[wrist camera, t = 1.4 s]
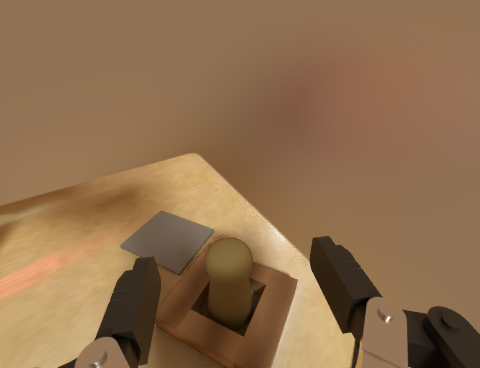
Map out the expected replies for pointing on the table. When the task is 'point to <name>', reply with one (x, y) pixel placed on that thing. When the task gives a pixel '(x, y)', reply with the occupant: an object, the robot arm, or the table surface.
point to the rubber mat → (168, 241)
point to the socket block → (219, 337)
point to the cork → (229, 283)
